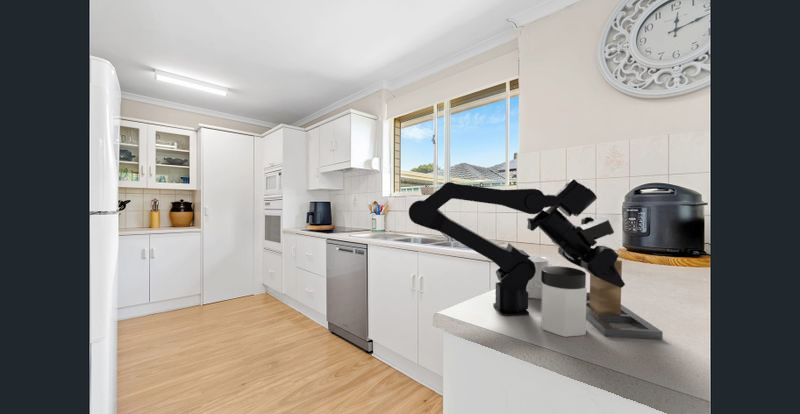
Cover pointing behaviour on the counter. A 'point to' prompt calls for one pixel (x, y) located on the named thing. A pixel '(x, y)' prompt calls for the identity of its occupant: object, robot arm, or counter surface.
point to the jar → (563, 301)
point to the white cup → (536, 277)
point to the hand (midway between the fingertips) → (612, 280)
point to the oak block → (605, 294)
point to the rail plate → (626, 316)
